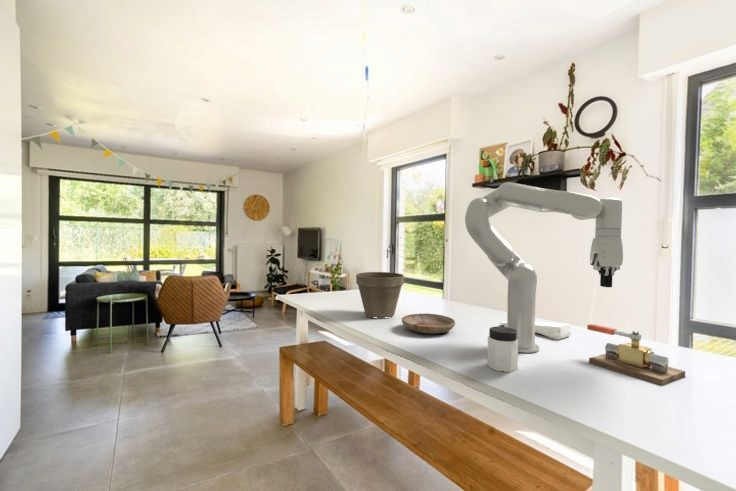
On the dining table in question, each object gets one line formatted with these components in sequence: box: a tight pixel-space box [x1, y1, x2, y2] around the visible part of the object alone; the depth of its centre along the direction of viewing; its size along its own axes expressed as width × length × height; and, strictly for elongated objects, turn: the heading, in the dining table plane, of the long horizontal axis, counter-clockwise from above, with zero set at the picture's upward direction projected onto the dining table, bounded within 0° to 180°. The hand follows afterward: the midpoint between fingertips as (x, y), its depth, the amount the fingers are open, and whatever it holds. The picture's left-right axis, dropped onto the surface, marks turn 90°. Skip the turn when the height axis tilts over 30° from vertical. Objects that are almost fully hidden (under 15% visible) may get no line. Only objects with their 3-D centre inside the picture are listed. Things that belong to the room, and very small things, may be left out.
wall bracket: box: [499, 320, 572, 340], centre depth 157 cm, size 10×7×28 cm
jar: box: [486, 326, 519, 373], centre depth 112 cm, size 9×8×12 cm
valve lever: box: [586, 323, 642, 341], centre depth 117 cm, size 15×3×2 cm, turn 29°
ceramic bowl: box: [401, 313, 456, 335], centre depth 157 cm, size 23×24×5 cm
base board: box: [588, 353, 686, 386], centre depth 112 cm, size 14×20×2 cm
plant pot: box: [355, 271, 405, 318], centre depth 185 cm, size 25×25×22 cm
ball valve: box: [604, 339, 669, 374], centre depth 112 cm, size 5×16×8 cm, turn 28°
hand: (606, 286), depth 125 cm, fingers closed
